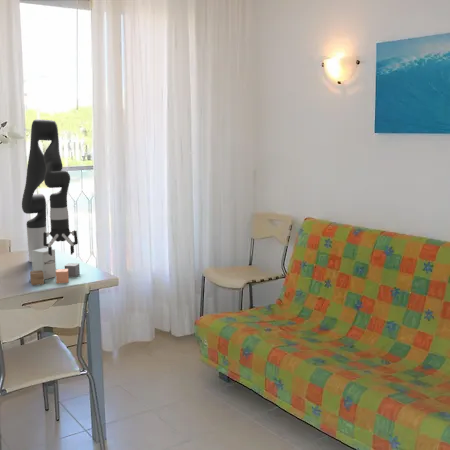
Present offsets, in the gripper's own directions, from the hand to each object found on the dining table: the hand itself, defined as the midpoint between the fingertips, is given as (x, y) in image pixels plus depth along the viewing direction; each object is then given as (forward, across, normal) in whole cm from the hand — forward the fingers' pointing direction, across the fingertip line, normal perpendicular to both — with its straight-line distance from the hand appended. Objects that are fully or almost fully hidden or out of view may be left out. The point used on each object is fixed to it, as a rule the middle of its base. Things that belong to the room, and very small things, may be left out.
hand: (61, 254), depth 262 cm
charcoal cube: (+12, -4, -10) cm, 16 cm away
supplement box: (+12, +8, -9) cm, 17 cm away
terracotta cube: (+12, 0, 0) cm, 12 cm away
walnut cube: (+12, +11, 0) cm, 16 cm away
